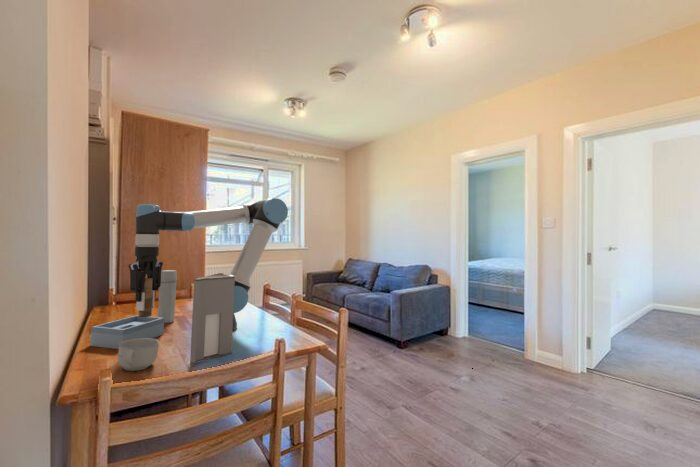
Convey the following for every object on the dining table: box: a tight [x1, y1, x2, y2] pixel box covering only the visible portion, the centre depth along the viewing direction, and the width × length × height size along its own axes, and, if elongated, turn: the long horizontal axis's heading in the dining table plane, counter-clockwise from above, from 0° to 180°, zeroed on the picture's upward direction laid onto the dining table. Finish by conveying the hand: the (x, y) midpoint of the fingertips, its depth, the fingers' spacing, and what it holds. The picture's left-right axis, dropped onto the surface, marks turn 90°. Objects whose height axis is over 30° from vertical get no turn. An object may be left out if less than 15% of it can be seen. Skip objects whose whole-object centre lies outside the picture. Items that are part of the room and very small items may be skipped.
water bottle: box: [157, 269, 178, 324], centre depth 158 cm, size 9×8×25 cm
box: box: [89, 314, 165, 350], centre depth 129 cm, size 14×20×7 cm
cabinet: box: [189, 272, 235, 366], centre depth 117 cm, size 21×10×28 cm, turn 1°
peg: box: [138, 277, 153, 317], centre depth 119 cm, size 4×4×14 cm
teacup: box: [117, 338, 160, 372], centre depth 101 cm, size 14×11×8 cm
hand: (145, 308), depth 119 cm, fingers closed on peg, 4 cm apart
